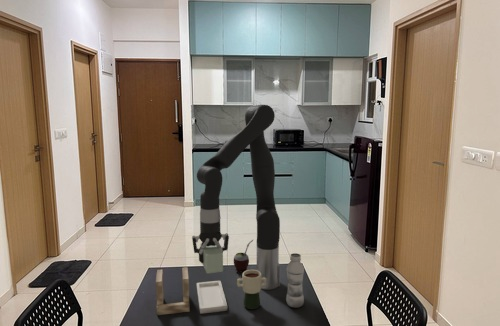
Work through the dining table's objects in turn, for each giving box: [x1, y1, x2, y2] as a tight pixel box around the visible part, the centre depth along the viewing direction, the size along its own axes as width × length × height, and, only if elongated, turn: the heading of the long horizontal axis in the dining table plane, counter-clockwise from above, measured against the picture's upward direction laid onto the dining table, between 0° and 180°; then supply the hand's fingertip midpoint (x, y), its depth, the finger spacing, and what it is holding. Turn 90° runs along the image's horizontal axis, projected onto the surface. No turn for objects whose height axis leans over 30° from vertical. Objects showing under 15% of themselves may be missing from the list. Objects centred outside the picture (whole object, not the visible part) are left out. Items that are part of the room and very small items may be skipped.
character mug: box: [236, 269, 266, 310], centre depth 134 cm, size 11×7×13 cm, turn 93°
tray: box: [196, 280, 228, 314], centre depth 141 cm, size 10×20×2 cm, turn 12°
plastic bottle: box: [285, 252, 305, 309], centre depth 134 cm, size 6×7×20 cm
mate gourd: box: [233, 239, 254, 274], centre depth 164 cm, size 8×8×15 cm
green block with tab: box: [199, 242, 224, 274], centre depth 138 cm, size 6×17×7 cm, turn 18°
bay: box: [155, 266, 191, 316], centre depth 135 cm, size 12×12×12 cm
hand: (210, 261), depth 136 cm, fingers closed on green block with tab, 6 cm apart
